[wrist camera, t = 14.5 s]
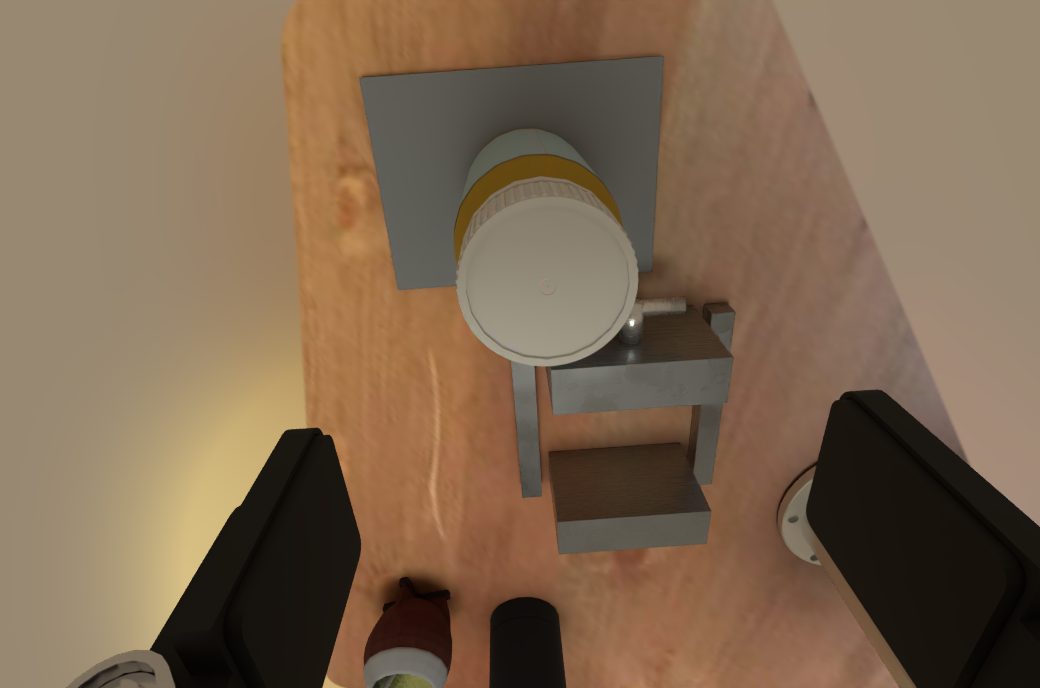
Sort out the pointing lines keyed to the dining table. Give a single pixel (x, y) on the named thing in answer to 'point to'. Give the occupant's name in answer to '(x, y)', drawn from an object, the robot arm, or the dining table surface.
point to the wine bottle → (526, 646)
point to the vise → (634, 469)
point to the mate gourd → (410, 642)
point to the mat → (494, 111)
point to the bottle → (541, 252)
